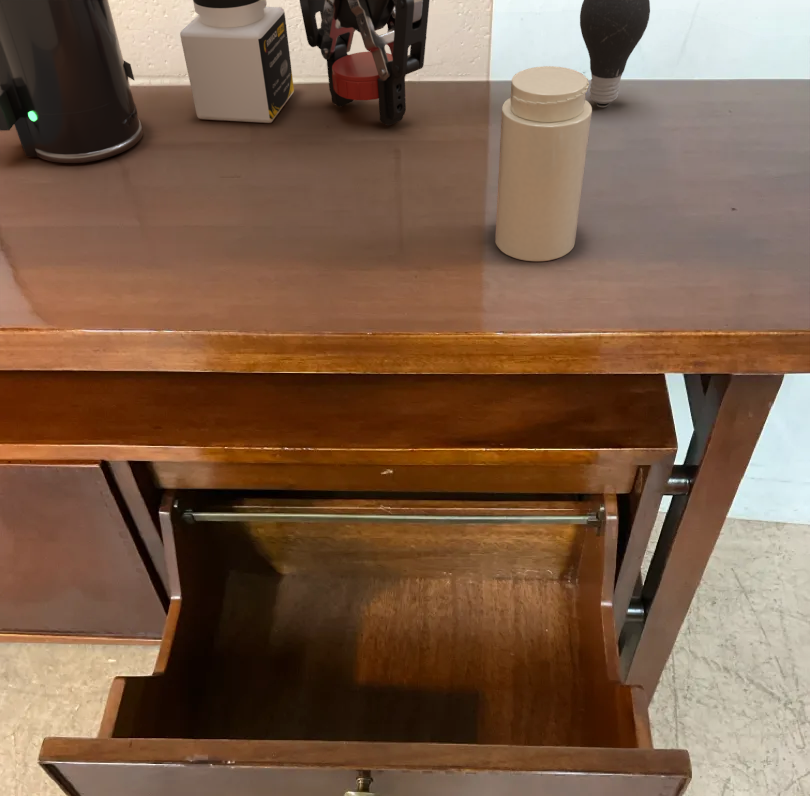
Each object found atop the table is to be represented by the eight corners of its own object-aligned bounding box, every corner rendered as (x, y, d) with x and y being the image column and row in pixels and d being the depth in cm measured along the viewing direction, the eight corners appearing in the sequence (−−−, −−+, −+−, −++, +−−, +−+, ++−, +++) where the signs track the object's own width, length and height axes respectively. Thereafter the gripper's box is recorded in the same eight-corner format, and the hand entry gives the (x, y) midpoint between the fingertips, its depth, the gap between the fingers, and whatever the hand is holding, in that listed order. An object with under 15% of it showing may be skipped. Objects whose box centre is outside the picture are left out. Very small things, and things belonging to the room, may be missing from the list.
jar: (509, 267, 57) (520, 103, 49) (485, 227, 61) (491, 69, 53) (587, 254, 58) (610, 91, 50) (558, 216, 61) (575, 58, 53)
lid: (369, 68, 76) (367, 46, 74) (415, 84, 73) (414, 61, 71) (320, 89, 73) (317, 66, 72) (365, 106, 70) (363, 83, 69)
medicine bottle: (272, 124, 74) (249, -36, 65) (196, 120, 75) (163, -38, 66) (295, 92, 79) (276, -61, 70) (223, 89, 80) (196, -63, 71)
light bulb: (648, 107, 74) (671, -26, 66) (600, 124, 72) (619, -11, 64) (603, 88, 77) (621, -41, 69) (557, 103, 75) (569, -28, 67)
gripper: (457, -124, 60) (455, 121, 72) (327, -147, 67) (345, 80, 80) (380, -103, 57) (392, 149, 69) (252, -130, 64) (283, 104, 76)
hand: (367, 111), depth 74 cm, fingers closed on lid, 5 cm apart
